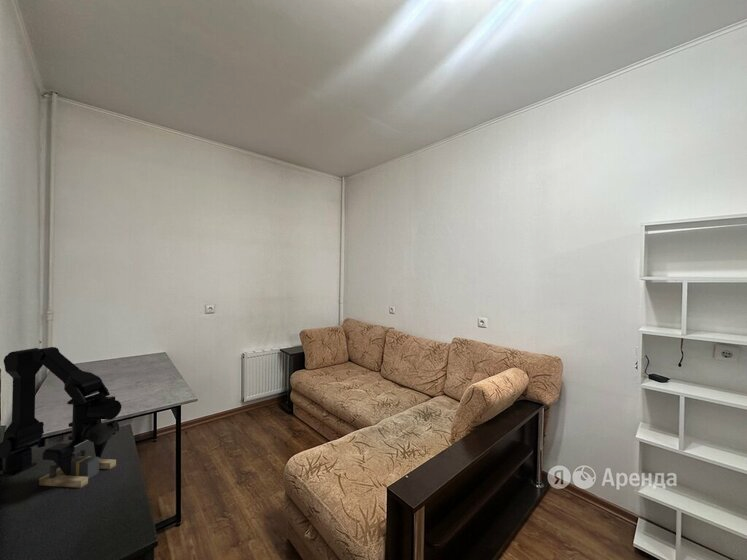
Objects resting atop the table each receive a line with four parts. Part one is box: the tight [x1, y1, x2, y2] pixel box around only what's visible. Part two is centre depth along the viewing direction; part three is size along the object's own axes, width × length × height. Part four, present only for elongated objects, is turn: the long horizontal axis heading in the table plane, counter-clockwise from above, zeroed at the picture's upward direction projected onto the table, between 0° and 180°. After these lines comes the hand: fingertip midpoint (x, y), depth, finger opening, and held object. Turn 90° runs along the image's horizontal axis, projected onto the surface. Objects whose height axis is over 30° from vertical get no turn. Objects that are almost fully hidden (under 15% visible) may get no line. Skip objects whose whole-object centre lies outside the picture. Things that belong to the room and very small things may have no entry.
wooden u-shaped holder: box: [38, 449, 117, 489], centre depth 95 cm, size 14×11×5 cm
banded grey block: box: [69, 455, 100, 480], centre depth 95 cm, size 4×7×5 cm, turn 85°
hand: (83, 466), depth 95 cm, fingers open, 9 cm apart
